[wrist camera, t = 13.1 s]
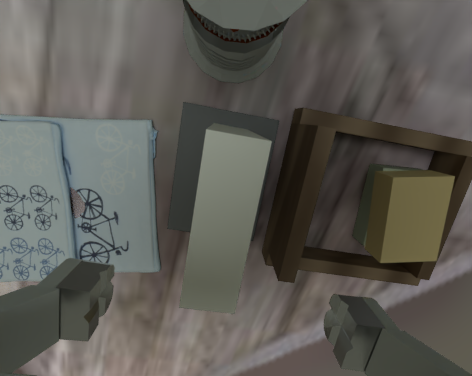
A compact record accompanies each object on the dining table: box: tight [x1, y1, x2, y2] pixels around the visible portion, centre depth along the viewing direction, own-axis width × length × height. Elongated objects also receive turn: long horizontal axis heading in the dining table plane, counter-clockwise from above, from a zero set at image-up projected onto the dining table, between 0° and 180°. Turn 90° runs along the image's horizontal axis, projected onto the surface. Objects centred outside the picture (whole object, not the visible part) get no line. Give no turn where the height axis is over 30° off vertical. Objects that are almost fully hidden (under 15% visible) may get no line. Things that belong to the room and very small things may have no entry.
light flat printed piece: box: [0, 114, 161, 282], centre depth 28 cm, size 19×20×2 cm
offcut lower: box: [352, 164, 422, 246], centre depth 30 cm, size 6×9×3 cm, turn 174°
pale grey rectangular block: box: [179, 123, 272, 314], centre depth 22 cm, size 4×11×14 cm, turn 169°
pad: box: [167, 102, 279, 241], centre depth 29 cm, size 10×14×1 cm
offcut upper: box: [365, 170, 455, 263], centre depth 27 cm, size 6×9×3 cm, turn 0°
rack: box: [262, 108, 472, 286], centre depth 27 cm, size 18×17×8 cm
